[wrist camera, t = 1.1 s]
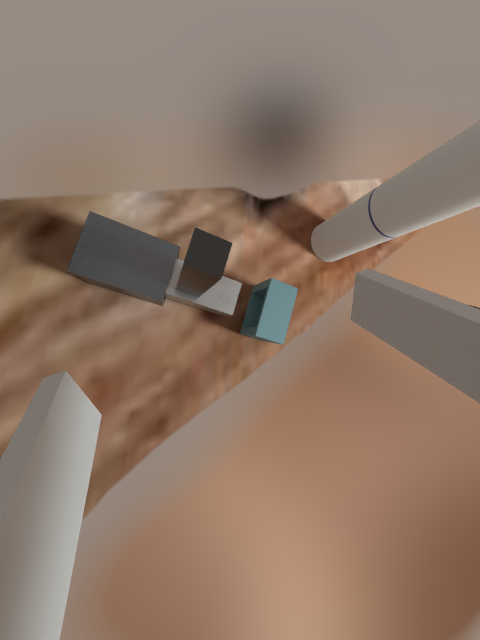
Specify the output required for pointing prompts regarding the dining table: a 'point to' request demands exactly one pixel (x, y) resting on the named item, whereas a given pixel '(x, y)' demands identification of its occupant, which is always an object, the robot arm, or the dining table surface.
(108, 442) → the dining table surface
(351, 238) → the cylindrical container
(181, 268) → the gray bar with post
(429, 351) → the robot arm
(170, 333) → the dining table surface
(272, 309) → the socket block
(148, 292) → the matte charcoal box
